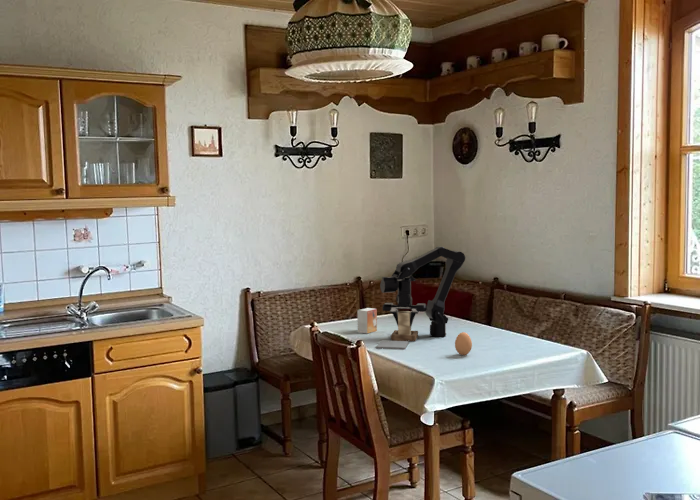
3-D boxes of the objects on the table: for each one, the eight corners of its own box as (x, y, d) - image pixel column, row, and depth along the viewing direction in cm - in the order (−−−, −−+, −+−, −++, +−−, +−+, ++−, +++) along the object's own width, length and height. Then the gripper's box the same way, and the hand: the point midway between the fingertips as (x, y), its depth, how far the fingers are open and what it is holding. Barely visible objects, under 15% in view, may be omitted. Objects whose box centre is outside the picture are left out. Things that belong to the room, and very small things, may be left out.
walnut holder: (418, 336, 318) (418, 330, 318) (415, 341, 308) (415, 335, 308) (394, 335, 321) (394, 330, 320) (391, 340, 310) (391, 334, 310)
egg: (451, 355, 282) (451, 332, 282) (461, 352, 287) (461, 329, 286) (465, 357, 278) (465, 334, 277) (475, 354, 282) (475, 332, 281)
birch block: (411, 333, 316) (410, 311, 315) (409, 336, 311) (409, 313, 310) (399, 333, 317) (399, 311, 316) (398, 335, 312) (398, 313, 311)
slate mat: (408, 343, 305) (408, 341, 305) (405, 349, 293) (405, 347, 293) (381, 342, 307) (381, 340, 307) (376, 348, 296) (376, 346, 296)
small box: (367, 334, 325) (366, 311, 324) (357, 332, 329) (357, 309, 328) (377, 331, 332) (377, 308, 331) (367, 329, 335) (367, 307, 334)
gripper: (427, 289, 318) (427, 323, 320) (386, 288, 322) (386, 322, 324) (425, 292, 307) (425, 328, 309) (382, 292, 311) (382, 327, 313)
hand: (404, 326), depth 314 cm, fingers closed on birch block, 5 cm apart
